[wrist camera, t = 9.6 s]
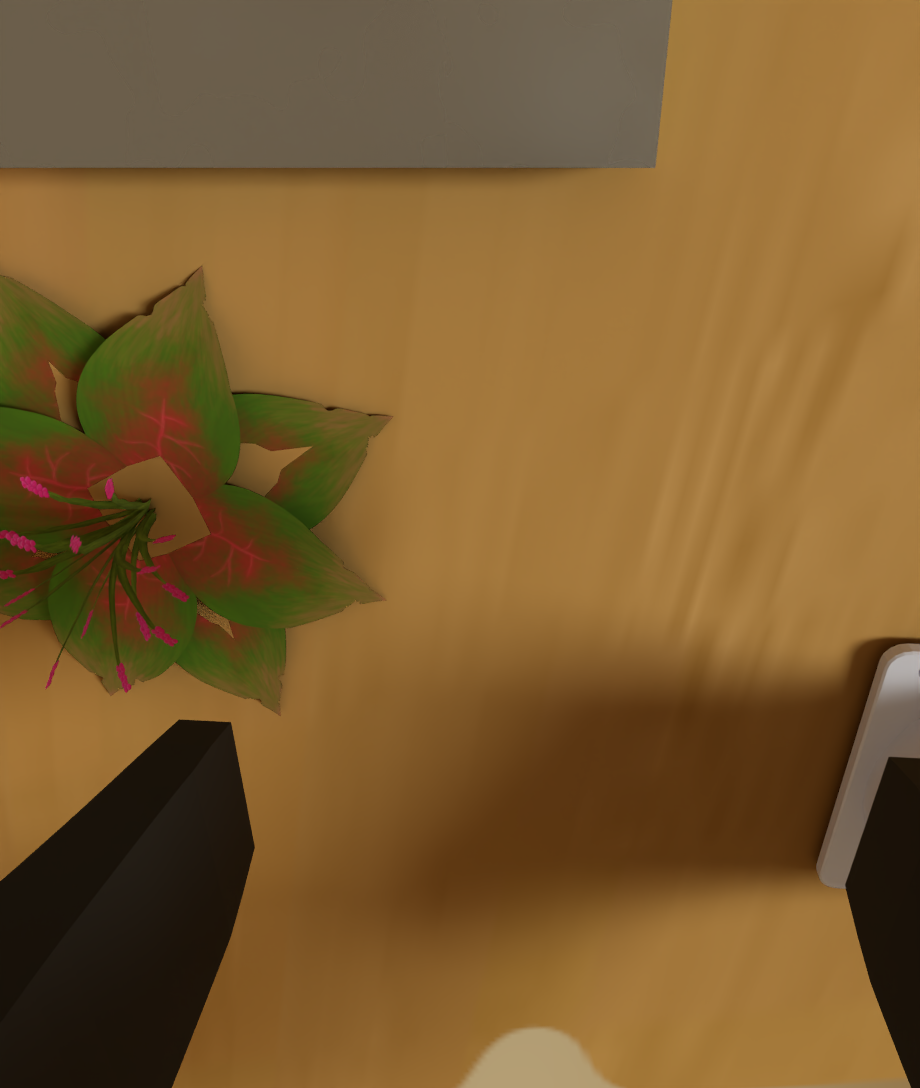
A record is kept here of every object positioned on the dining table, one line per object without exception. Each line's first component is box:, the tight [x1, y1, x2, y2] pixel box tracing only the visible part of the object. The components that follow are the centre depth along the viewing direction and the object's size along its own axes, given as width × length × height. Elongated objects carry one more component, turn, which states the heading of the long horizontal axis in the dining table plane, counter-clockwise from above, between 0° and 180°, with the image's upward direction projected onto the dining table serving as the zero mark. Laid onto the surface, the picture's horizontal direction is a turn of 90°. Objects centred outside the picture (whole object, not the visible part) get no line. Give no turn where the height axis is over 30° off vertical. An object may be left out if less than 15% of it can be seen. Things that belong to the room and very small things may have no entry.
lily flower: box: [0, 266, 393, 716], centre depth 17 cm, size 12×12×5 cm
